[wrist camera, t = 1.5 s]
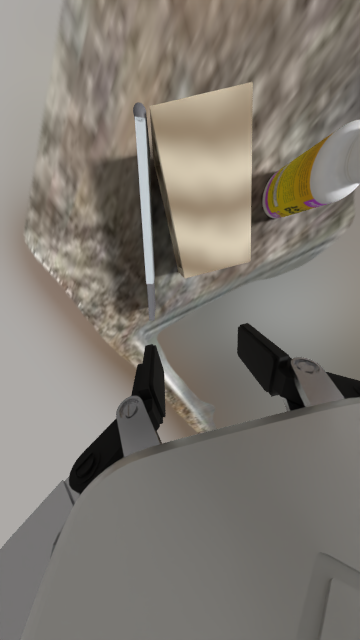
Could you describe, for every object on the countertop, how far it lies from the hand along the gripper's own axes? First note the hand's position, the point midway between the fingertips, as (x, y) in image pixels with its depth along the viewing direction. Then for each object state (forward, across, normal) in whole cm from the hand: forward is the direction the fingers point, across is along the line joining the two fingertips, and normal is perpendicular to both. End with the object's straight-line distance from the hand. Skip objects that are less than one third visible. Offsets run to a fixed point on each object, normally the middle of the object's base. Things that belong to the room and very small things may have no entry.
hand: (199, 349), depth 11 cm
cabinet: (+20, -6, -12) cm, 24 cm away
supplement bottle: (+20, -21, -13) cm, 32 cm away
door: (+19, +3, -9) cm, 21 cm away
